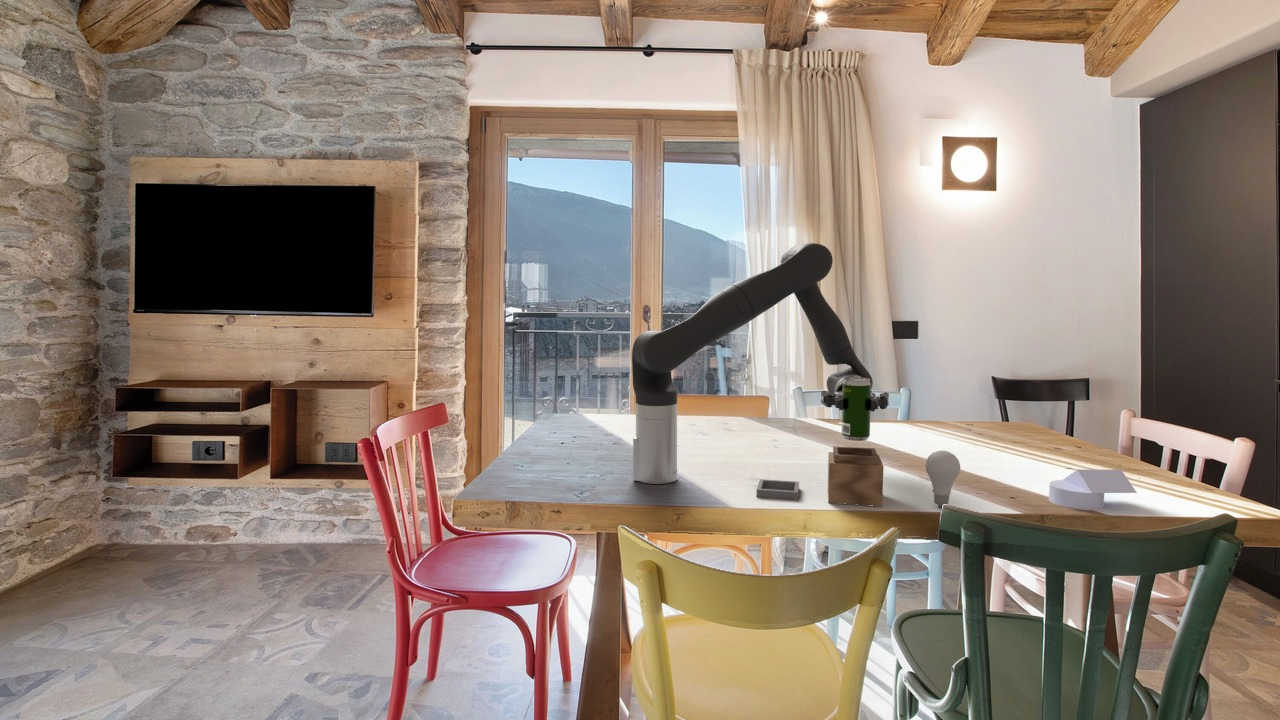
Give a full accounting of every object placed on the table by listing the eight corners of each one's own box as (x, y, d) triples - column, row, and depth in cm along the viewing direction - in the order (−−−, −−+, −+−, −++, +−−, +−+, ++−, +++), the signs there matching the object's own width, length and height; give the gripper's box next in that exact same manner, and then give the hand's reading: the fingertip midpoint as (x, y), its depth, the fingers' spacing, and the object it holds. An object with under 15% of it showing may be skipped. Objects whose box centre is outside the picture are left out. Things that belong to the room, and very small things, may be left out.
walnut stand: (828, 503, 131) (829, 455, 130) (827, 489, 140) (828, 445, 140) (882, 507, 128) (883, 458, 127) (877, 492, 138) (879, 447, 137)
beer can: (857, 442, 130) (859, 381, 129) (835, 437, 134) (837, 378, 133) (875, 438, 133) (876, 379, 131) (853, 434, 137) (854, 376, 136)
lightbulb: (956, 503, 130) (958, 448, 129) (960, 513, 124) (963, 455, 123) (922, 500, 132) (924, 446, 131) (925, 510, 126) (927, 453, 125)
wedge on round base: (1103, 496, 135) (1039, 496, 135) (1105, 463, 135) (1040, 463, 135) (1135, 510, 126) (1067, 510, 126) (1138, 475, 126) (1068, 475, 126)
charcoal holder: (756, 496, 135) (756, 489, 135) (759, 485, 143) (759, 479, 143) (797, 499, 133) (798, 492, 133) (798, 488, 141) (799, 481, 141)
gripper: (819, 375, 148) (819, 385, 132) (887, 376, 144) (896, 387, 128) (818, 408, 149) (818, 423, 132) (886, 411, 145) (895, 426, 129)
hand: (857, 405), depth 130 cm, fingers closed on beer can, 5 cm apart
